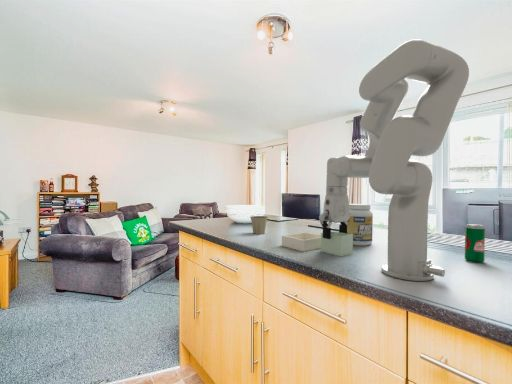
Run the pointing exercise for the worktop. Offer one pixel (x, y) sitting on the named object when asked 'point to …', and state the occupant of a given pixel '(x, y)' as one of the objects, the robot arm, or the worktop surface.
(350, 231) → the supplement tub
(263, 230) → the flower pot
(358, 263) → the worktop surface
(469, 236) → the soda can
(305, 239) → the tray
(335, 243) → the block
